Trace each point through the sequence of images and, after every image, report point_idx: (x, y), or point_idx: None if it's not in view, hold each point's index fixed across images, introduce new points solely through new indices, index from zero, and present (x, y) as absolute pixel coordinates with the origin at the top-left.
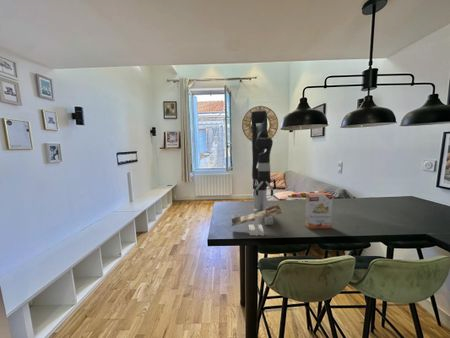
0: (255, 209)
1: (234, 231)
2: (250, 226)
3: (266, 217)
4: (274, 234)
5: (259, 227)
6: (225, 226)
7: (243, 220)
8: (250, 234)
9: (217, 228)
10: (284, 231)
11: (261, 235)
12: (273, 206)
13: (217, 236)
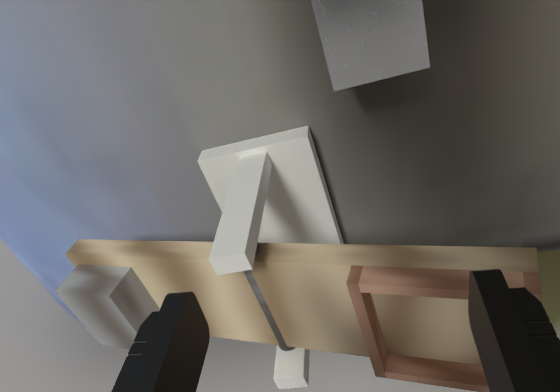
0: (236, 267)
1: None
2: (226, 194)
3: (349, 86)
4: (420, 231)
5: (301, 197)
6: (33, 182)
7: None
8: None
9: (11, 223)
10: (507, 170)
11: None
12: (465, 298)
13: None
